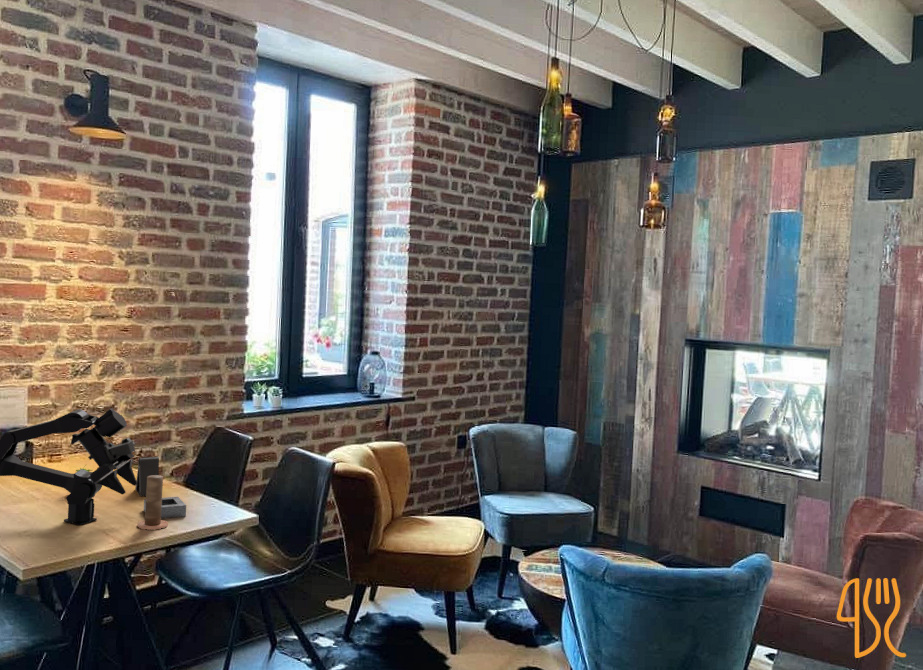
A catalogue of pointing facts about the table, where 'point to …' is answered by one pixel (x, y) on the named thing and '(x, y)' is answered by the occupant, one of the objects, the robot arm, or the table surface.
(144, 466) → the door stopper
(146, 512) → the walnut peg
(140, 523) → the terracotta coaster
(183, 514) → the metal socket
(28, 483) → the table surface
